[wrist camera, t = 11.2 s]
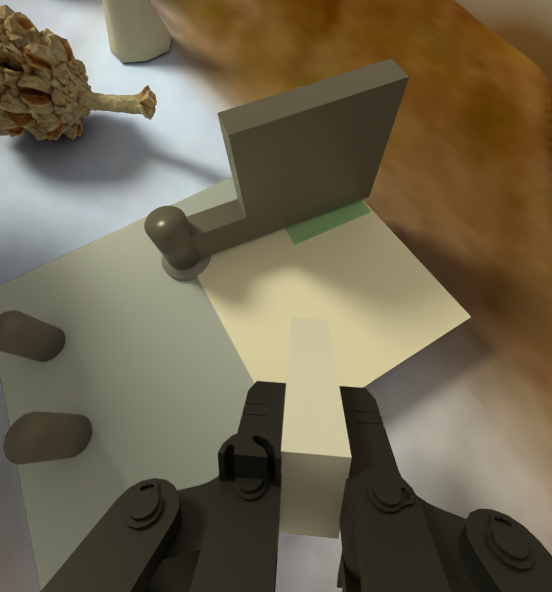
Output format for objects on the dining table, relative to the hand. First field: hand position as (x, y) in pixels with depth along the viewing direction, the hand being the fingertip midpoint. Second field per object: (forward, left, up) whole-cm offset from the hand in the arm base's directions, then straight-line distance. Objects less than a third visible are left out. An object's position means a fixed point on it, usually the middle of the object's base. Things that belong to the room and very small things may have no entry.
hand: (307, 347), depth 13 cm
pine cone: (-6, +30, -7) cm, 32 cm away
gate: (+3, +10, -4) cm, 11 cm away
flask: (+4, +41, -7) cm, 42 cm away
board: (-3, +6, -7) cm, 10 cm away
